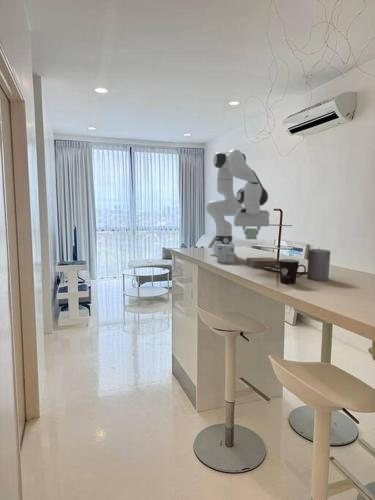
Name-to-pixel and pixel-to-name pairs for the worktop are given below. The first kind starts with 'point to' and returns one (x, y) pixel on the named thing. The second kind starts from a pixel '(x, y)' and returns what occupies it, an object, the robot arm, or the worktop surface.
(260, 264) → the walnut plinth
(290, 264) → the coffee mug
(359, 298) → the worktop surface
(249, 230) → the sage block
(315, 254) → the pillar candle
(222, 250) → the light bulb box
